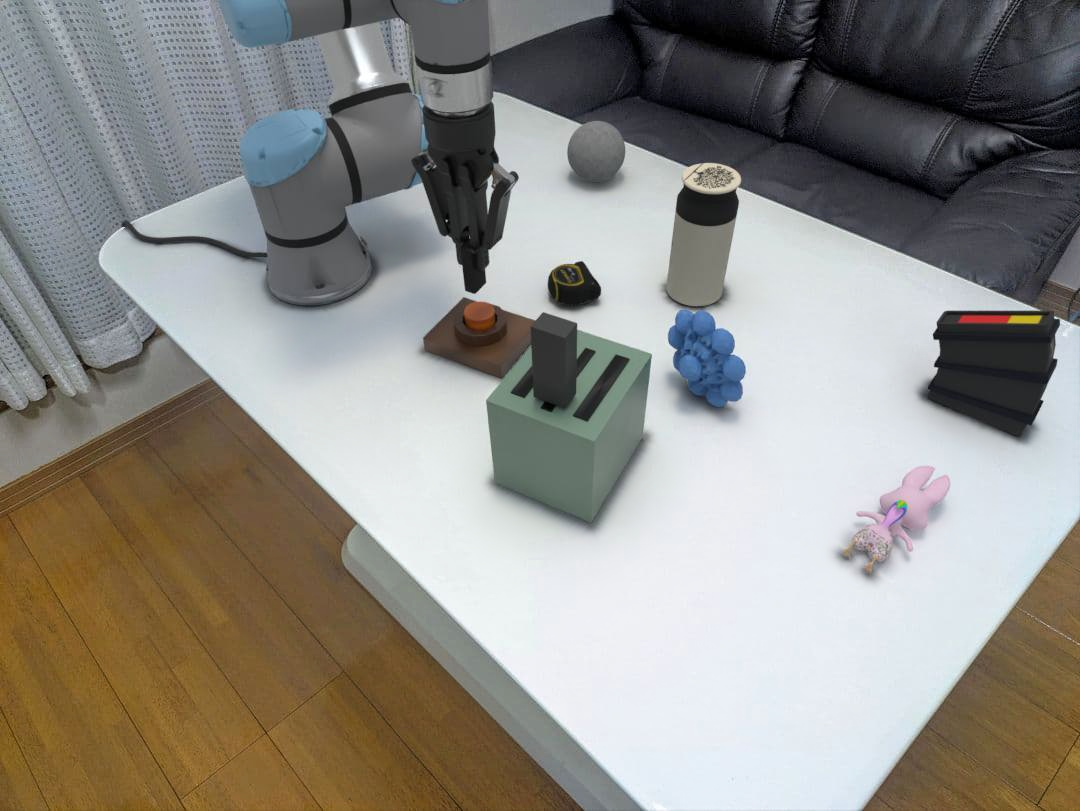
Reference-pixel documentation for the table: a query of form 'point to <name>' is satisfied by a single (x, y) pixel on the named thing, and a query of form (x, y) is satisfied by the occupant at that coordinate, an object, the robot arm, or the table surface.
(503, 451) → the toaster
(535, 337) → the slider
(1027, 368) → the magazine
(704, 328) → the grapes
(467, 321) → the button
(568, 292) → the tape measure
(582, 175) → the decorative ball
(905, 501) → the rabbit figure
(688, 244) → the travel mug
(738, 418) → the table surface
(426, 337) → the button block
